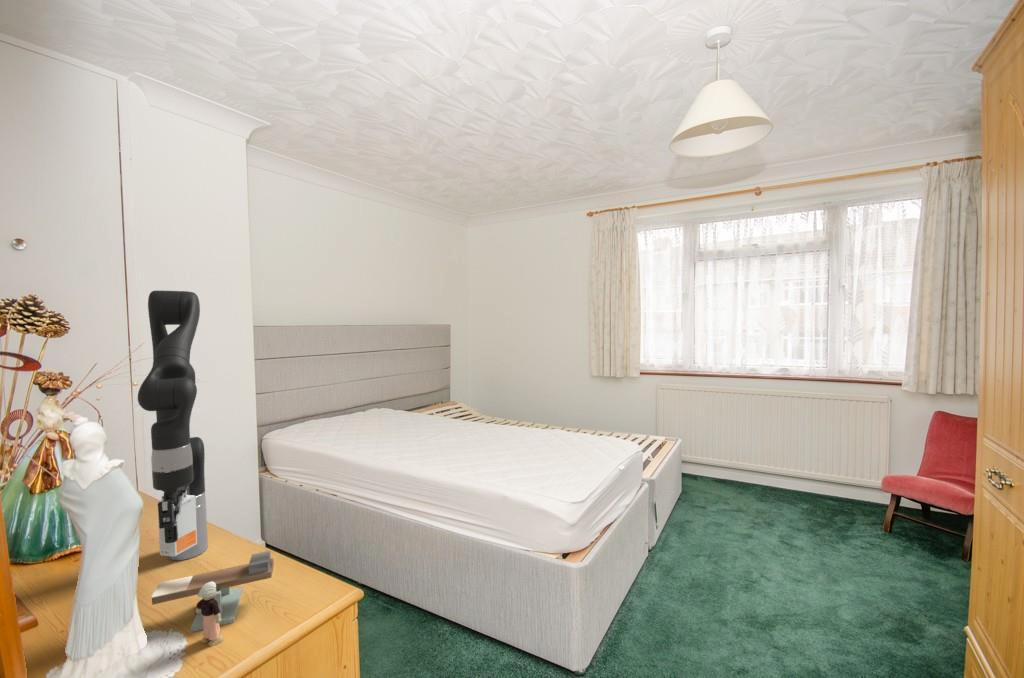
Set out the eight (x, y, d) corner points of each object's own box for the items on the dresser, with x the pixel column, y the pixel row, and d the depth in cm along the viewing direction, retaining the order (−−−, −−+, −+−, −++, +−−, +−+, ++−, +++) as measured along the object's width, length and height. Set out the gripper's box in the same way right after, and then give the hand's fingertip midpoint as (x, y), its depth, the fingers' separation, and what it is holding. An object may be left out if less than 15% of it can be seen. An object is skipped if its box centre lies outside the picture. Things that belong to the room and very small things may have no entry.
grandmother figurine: (233, 635, 97) (230, 580, 96) (218, 649, 93) (215, 591, 92) (204, 629, 99) (201, 575, 98) (188, 642, 95) (185, 585, 94)
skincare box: (175, 557, 101) (172, 505, 100) (159, 555, 102) (156, 504, 101) (198, 543, 107) (196, 494, 106) (183, 542, 108) (181, 493, 107)
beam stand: (205, 598, 109) (203, 571, 108) (242, 590, 112) (241, 564, 111) (191, 632, 98) (189, 601, 97) (233, 622, 101) (232, 593, 100)
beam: (162, 592, 104) (160, 571, 103) (274, 567, 112) (273, 547, 112) (150, 613, 97) (148, 590, 96) (271, 584, 105) (269, 563, 105)
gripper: (163, 457, 108) (167, 523, 109) (140, 478, 95) (145, 553, 96) (200, 453, 111) (203, 517, 112) (183, 472, 98) (187, 545, 99)
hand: (176, 533), depth 104 cm, fingers closed on skincare box, 7 cm apart
